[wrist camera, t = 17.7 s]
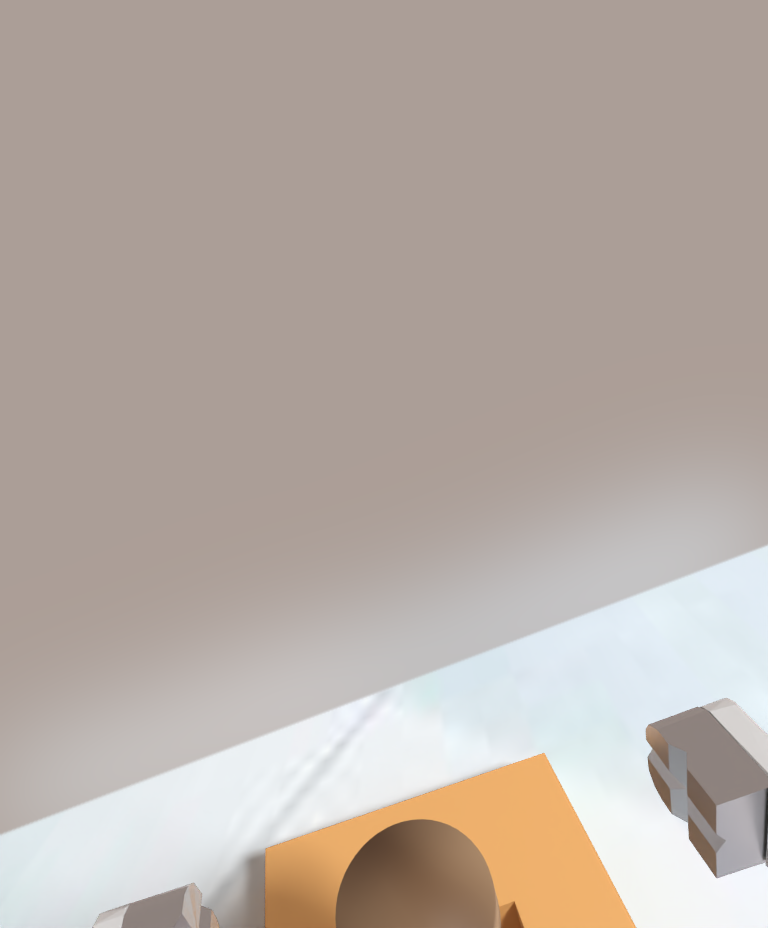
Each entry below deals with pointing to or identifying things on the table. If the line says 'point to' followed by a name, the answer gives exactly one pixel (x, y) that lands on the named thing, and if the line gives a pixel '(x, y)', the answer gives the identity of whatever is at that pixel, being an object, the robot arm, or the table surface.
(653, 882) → the table surface
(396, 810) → the orange notched slab
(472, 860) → the cord spool
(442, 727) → the table surface
